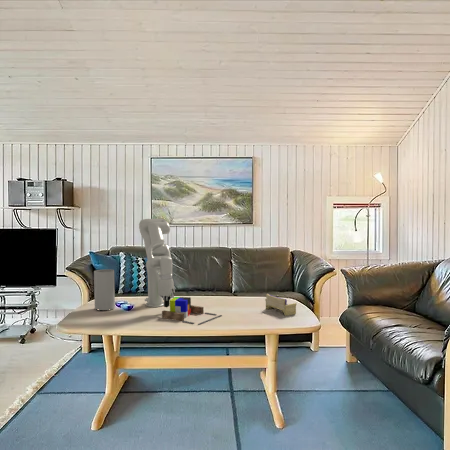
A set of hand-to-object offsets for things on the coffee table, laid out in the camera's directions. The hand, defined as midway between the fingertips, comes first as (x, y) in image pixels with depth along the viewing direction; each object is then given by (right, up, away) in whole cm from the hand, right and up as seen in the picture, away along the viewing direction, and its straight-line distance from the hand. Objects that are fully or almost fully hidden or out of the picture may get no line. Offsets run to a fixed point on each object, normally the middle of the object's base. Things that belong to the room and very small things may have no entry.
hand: (166, 306), depth 249 cm
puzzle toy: (+9, -4, -6) cm, 12 cm away
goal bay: (+23, -4, -15) cm, 28 cm away
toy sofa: (+71, -4, +1) cm, 71 cm away
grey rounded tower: (-42, -4, +12) cm, 44 cm away
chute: (+11, -4, -7) cm, 14 cm away
